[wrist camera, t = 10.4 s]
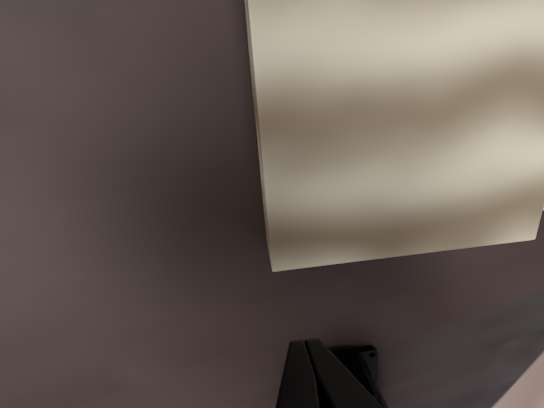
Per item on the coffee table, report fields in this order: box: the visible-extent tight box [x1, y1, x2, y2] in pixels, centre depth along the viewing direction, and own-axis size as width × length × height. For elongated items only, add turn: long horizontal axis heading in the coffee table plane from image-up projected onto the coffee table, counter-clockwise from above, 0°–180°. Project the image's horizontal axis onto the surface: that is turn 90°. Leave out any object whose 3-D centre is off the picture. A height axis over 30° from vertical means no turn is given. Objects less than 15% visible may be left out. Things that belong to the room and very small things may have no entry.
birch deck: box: [244, 0, 544, 272], centre depth 16 cm, size 16×16×4 cm
